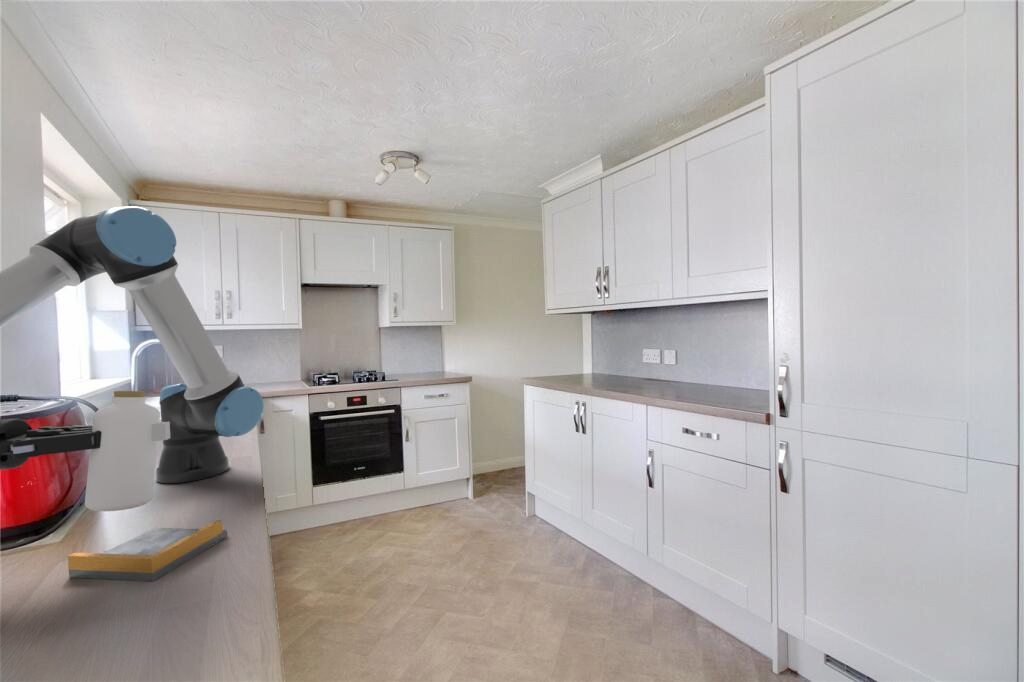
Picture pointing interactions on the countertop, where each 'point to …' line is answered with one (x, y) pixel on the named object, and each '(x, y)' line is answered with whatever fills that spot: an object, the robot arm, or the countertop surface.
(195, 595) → the countertop surface
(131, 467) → the white bottle
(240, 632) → the countertop surface
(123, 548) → the plate
